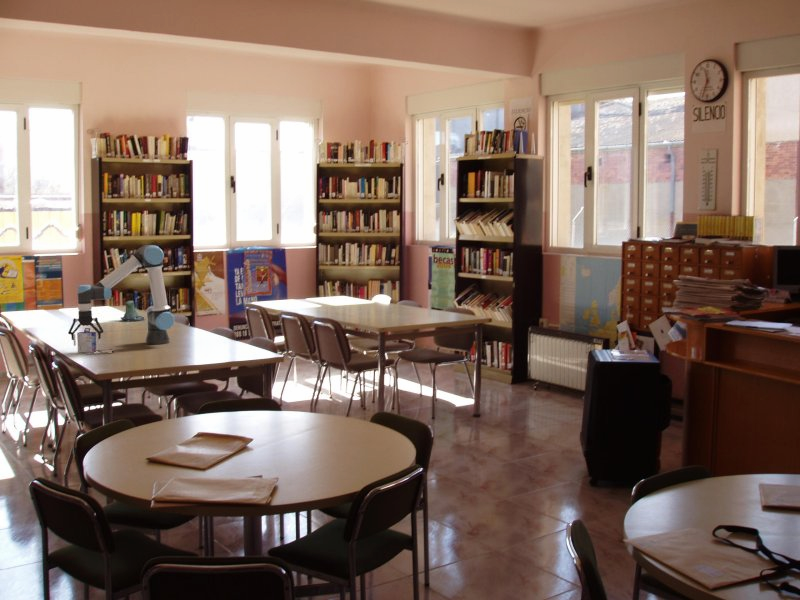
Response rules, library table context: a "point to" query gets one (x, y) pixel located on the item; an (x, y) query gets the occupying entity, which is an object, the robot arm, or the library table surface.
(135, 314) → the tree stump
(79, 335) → the ink cartridge box
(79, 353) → the board
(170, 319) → the robot arm
